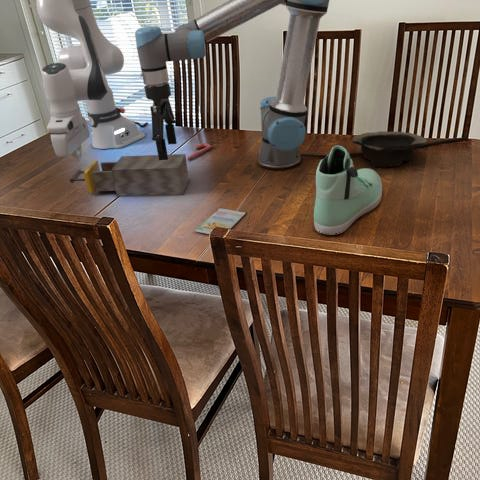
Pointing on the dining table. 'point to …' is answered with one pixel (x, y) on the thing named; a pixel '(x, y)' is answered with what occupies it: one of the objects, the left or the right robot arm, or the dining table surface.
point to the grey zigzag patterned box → (150, 175)
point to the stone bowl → (388, 147)
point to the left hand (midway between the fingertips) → (78, 160)
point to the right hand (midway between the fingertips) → (168, 151)
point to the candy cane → (200, 150)
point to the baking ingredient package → (220, 220)
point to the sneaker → (343, 192)
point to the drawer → (97, 177)
